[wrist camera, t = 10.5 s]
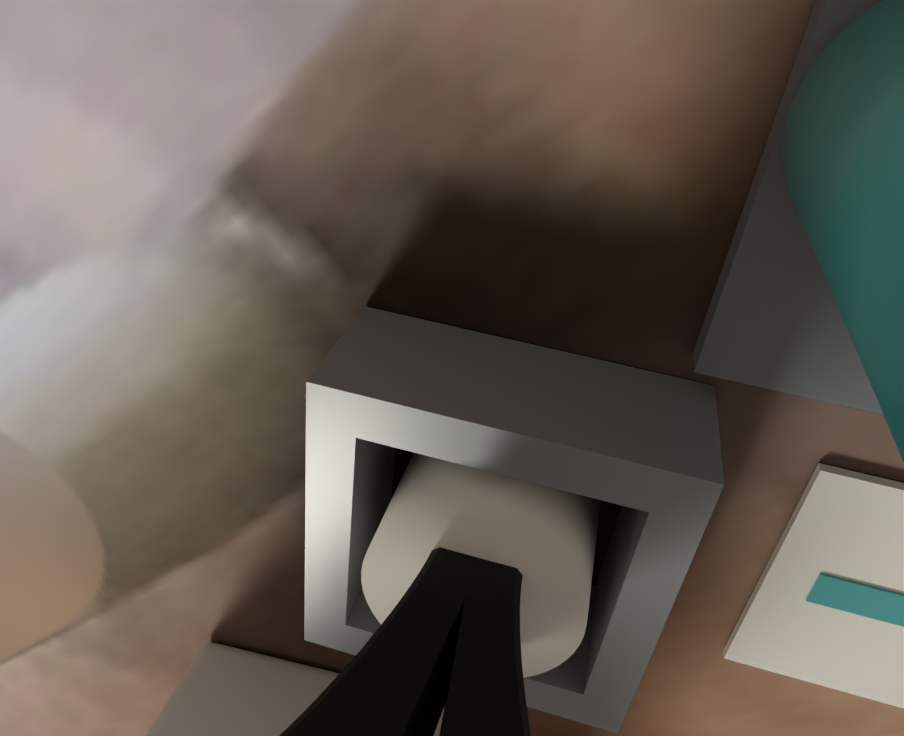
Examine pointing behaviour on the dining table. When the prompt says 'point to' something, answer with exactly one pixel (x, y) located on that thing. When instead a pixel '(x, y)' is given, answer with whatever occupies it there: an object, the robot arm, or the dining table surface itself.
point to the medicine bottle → (241, 695)
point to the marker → (858, 189)
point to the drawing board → (783, 274)
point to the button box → (518, 456)
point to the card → (833, 590)
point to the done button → (492, 547)
